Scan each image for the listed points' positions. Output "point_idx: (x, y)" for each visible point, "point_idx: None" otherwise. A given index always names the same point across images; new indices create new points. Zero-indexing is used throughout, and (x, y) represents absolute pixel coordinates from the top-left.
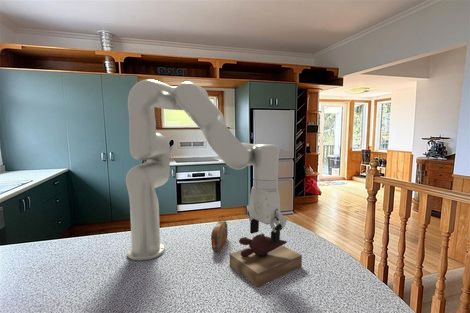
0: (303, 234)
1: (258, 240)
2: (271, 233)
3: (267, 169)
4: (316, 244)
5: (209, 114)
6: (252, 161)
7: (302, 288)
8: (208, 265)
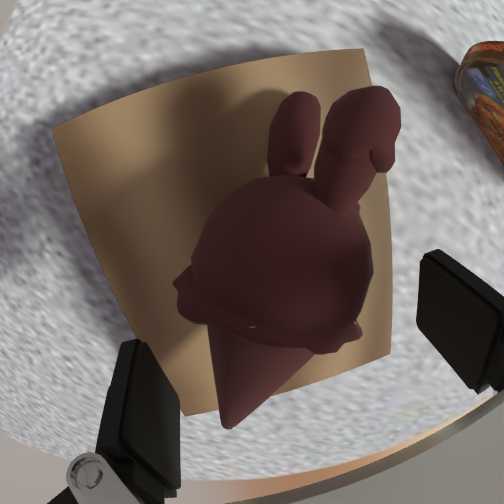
0: (382, 438)
1: (252, 258)
2: (113, 425)
3: None
4: (310, 453)
5: None
6: None
7: (46, 306)
8: None
